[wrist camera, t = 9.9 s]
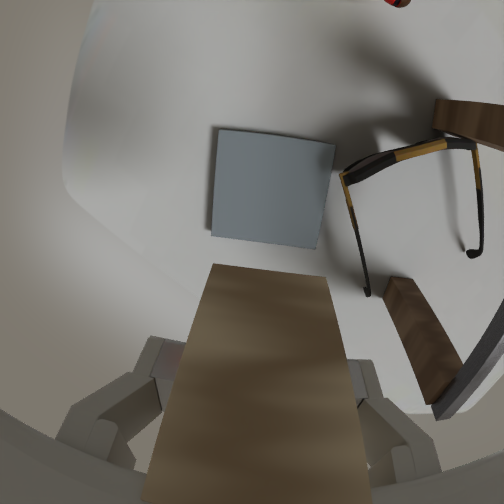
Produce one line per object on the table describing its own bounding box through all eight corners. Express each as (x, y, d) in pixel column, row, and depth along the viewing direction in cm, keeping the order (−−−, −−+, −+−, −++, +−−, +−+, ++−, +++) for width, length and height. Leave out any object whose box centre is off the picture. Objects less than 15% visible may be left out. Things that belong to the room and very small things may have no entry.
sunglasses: (363, 291, 31) (375, 320, 26) (328, 156, 25) (340, 167, 20) (467, 254, 28) (489, 276, 23) (454, 123, 22) (483, 129, 17)
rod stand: (459, 109, 21) (572, 134, 8) (403, 300, 31) (451, 401, 18) (436, 99, 21) (551, 114, 8) (382, 298, 31) (426, 405, 18)
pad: (333, 144, 24) (335, 145, 23) (314, 244, 29) (315, 249, 28) (220, 129, 24) (218, 129, 23) (213, 231, 29) (211, 235, 28)
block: (325, 277, 10) (373, 511, 3) (302, 354, 12) (312, 537, 5) (212, 263, 10) (140, 498, 3) (209, 343, 12) (169, 526, 5)
